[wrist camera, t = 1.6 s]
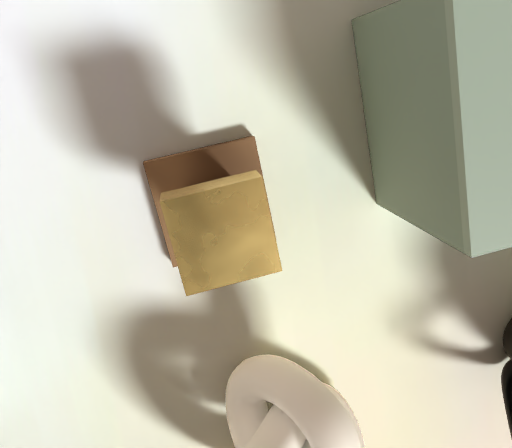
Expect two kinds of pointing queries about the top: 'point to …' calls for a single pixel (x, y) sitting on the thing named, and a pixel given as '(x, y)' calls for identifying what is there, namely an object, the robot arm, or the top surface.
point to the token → (221, 231)
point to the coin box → (441, 116)
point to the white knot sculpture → (287, 408)
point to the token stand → (199, 171)
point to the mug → (508, 374)
